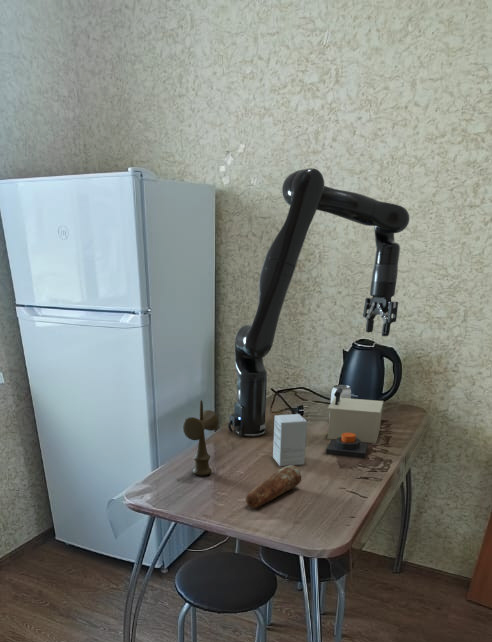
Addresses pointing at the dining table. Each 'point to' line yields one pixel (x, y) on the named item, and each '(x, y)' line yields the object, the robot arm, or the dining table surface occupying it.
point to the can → (345, 393)
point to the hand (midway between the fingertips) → (377, 333)
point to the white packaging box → (289, 439)
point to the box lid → (354, 405)
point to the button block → (347, 448)
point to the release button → (348, 437)
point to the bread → (274, 486)
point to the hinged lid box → (354, 425)
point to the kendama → (201, 437)
